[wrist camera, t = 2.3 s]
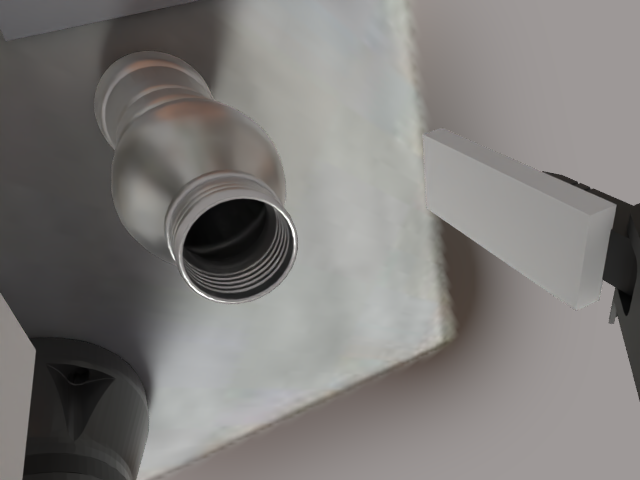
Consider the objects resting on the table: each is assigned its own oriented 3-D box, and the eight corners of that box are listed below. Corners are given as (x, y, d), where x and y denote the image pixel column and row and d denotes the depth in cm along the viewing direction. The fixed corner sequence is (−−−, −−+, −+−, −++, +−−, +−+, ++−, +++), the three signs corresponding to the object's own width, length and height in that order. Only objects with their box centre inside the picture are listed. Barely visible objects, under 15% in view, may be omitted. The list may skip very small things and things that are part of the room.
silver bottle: (148, 19, 29) (246, 84, 13) (227, 107, 33) (378, 243, 17) (66, 97, 29) (58, 261, 13) (155, 175, 33) (234, 377, 17)
